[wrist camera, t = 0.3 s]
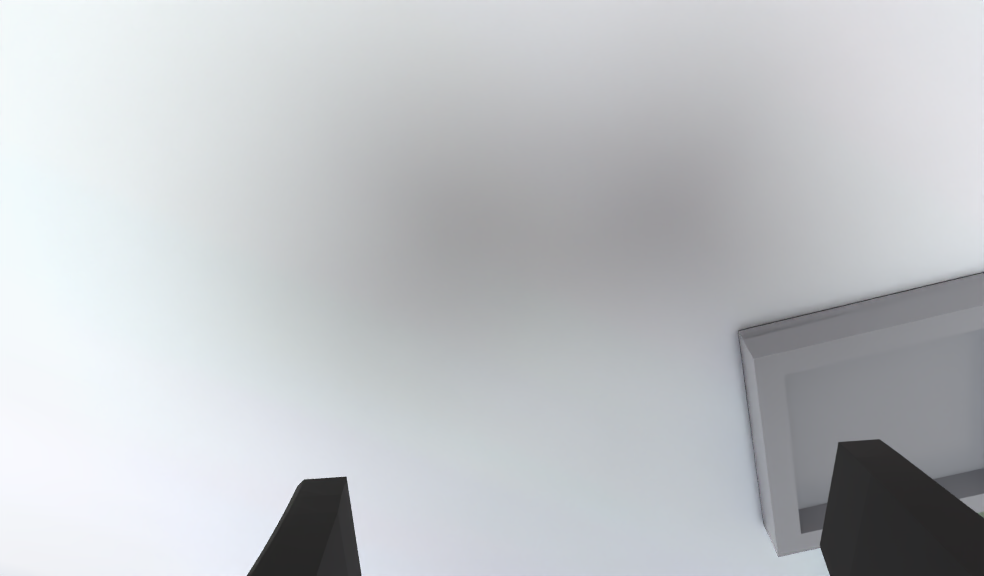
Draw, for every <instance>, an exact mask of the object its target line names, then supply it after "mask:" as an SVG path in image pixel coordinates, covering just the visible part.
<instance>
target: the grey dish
mask: <svg viewBox="0 0 984 576" xmlns="http://www.w3.org/2000/svg"><path fill="white" fill-rule="evenodd" d="M738 334H739V342H740V349H741V357H742V364H743V372H744V379H745V387H746V394H747V402H748V409H749V417H750V424H751V432H752V440H753V447H754V455H755V462H756V470H757V477H758V485H759V492H760V500H761V507H762V515H763V522H764V526H765V528H766V530H767V533H768V535H769V537H770V539H771V542H772V544H773V546H774V548H775V551H776V553H777V555H778V557H781V556H785V555H790V554H794V553H799V552H803V551H808V550H812V549H817V548H820V541H821V535H822V530H823V524H824V519H825V513H826V508H827V502H828V497H829V491H830V486H831V480H832V475H833V469H834V464H835V458H836V453H837V447H838V442H845V441H860V440H874V439H880V440H881V441H883V442H884V443H886V444H887V445H888V446H890V447H891V448H893V449H894V450H895V451H897V452H898V453H899V454H901V455H902V456H903V457H905V458H906V459H907V460H908V461H910V462H911V463H912V464H914V465H915V466H916V467H918V468H919V469H920V470H921V471H923V472H924V473H925V474H927V475H928V476H929V477H931V478H932V479H933V480H934V481H936V482H937V483H938V484H940V485H941V486H942V487H944V488H945V489H946V490H948V491H949V492H950V493H951V494H953V495H954V496H955V497H957V498H958V499H959V500H961V501H962V502H963V503H965V504H966V505H967V506H969V507H970V508H971V509H973V510H974V511H975V512H977V513H980V512H984V273H980V274H976V275H972V276H968V277H964V278H959V279H955V280H951V281H947V282H943V283H938V284H934V285H930V286H926V287H922V288H917V289H913V290H909V291H905V292H901V293H896V294H892V295H888V296H884V297H880V298H875V299H871V300H867V301H863V302H859V303H854V304H850V305H846V306H842V307H838V308H833V309H829V310H825V311H821V312H816V313H812V314H808V315H804V316H800V317H795V318H791V319H787V320H783V321H779V322H774V323H770V324H766V325H762V326H758V327H753V328H749V329H745V330H741V331H738Z"/></svg>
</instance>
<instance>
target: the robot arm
mask: <svg viewBox="0 0 984 576" xmlns="http://www.w3.org/2000/svg"><path fill="white" fill-rule="evenodd" d="M820 548H821V551H822V553H823V556H824V559H825V562H826V565H827V568H828V571H829V574H830V576H984V518H983V517H982V516H981V515H979V514H978V513H977V512H975V511H974V510H973V509H971V508H970V507H969V506H967V505H966V504H965V503H963V502H962V501H961V500H959V499H958V498H957V497H955V496H954V495H953V494H951V493H950V492H949V491H948V490H946V489H945V488H944V487H942V486H941V485H940V484H938V483H937V482H936V481H934V480H933V479H932V478H931V477H929V476H928V475H927V474H925V473H924V472H923V471H921V470H920V469H919V468H918V467H916V466H915V465H914V464H912V463H911V462H910V461H908V460H907V459H906V458H905V457H903V456H902V455H901V454H899V453H898V452H897V451H895V450H894V449H893V448H891V447H890V446H888V445H887V444H886V443H884V442H883V441H881V440H880V439H874V440H860V441H845V442H838V447H837V453H836V458H835V464H834V469H833V475H832V480H831V486H830V491H829V497H828V502H827V508H826V513H825V519H824V524H823V530H822V535H821V541H820ZM247 576H361V569H360V563H359V556H358V550H357V543H356V537H355V530H354V523H353V517H352V510H351V504H350V497H349V491H348V484H347V477H335V478H321V479H307V480H303V481H302V482H301V483H300V484H299V485H298V486H297V488H296V490H295V492H294V494H293V496H292V498H291V500H290V502H289V504H288V506H287V508H286V510H285V512H284V514H283V516H282V517H281V519H280V521H279V523H278V525H277V527H276V528H275V530H274V532H273V534H272V535H271V537H270V539H269V540H268V542H267V544H266V546H265V547H264V549H263V551H262V552H261V554H260V556H259V557H258V559H257V560H256V562H255V564H254V565H253V567H252V568H251V570H250V572H249V573H248V575H247Z"/></svg>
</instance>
